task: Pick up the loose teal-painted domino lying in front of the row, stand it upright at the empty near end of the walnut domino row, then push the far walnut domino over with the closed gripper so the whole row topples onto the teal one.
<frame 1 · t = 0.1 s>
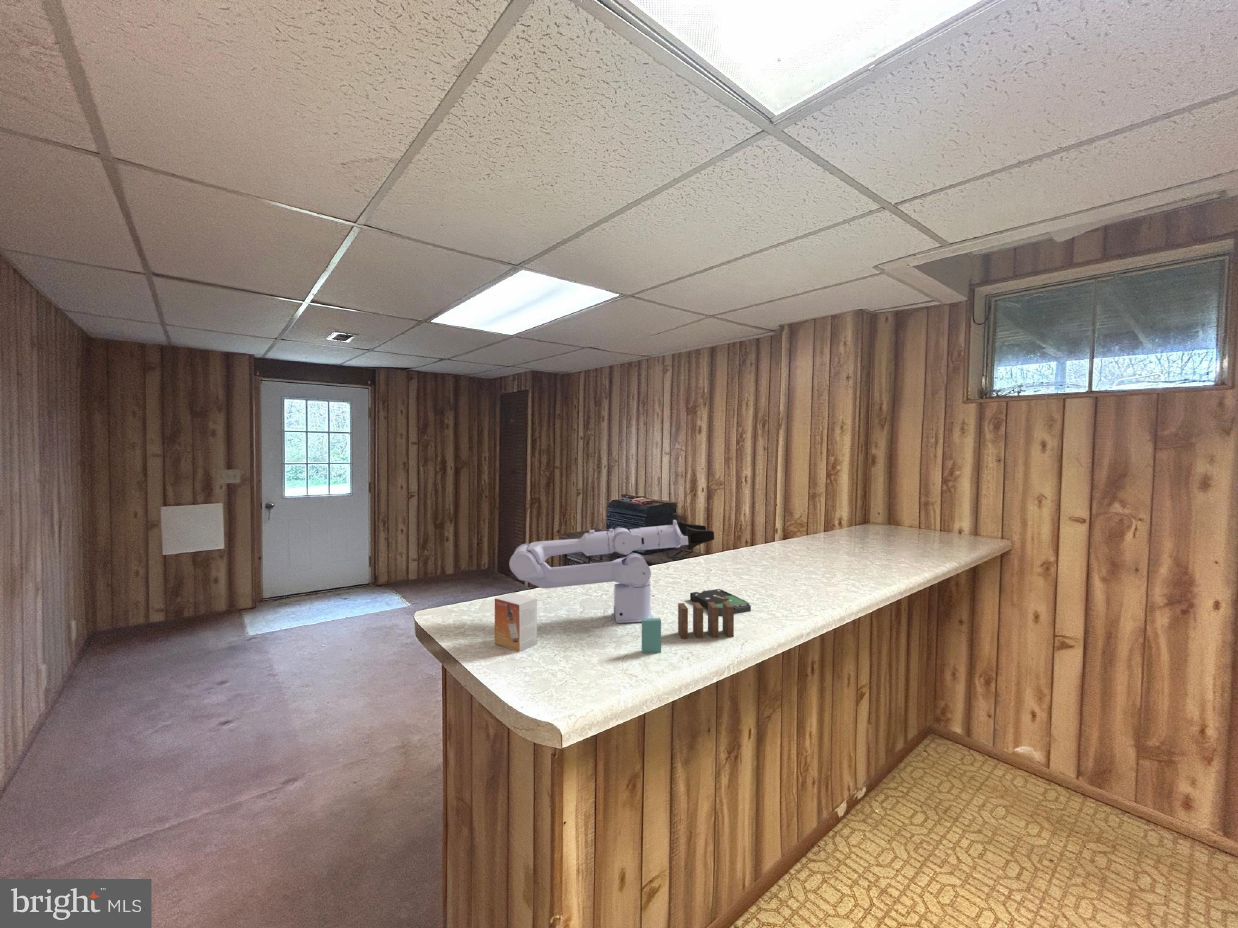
hand: (709, 532, 129), 22 cm above the table, tool horizontal, fingers open, 7 cm apart
disk drive: (719, 607, 137), on the table
domino 1: (728, 633, 117), on the table
domino 3: (698, 634, 116), on the table
teal domino: (651, 651, 107), on the table
small box: (516, 645, 111), on the table
domino 2: (713, 634, 117), on the table
domino 4: (682, 635, 116), on the table
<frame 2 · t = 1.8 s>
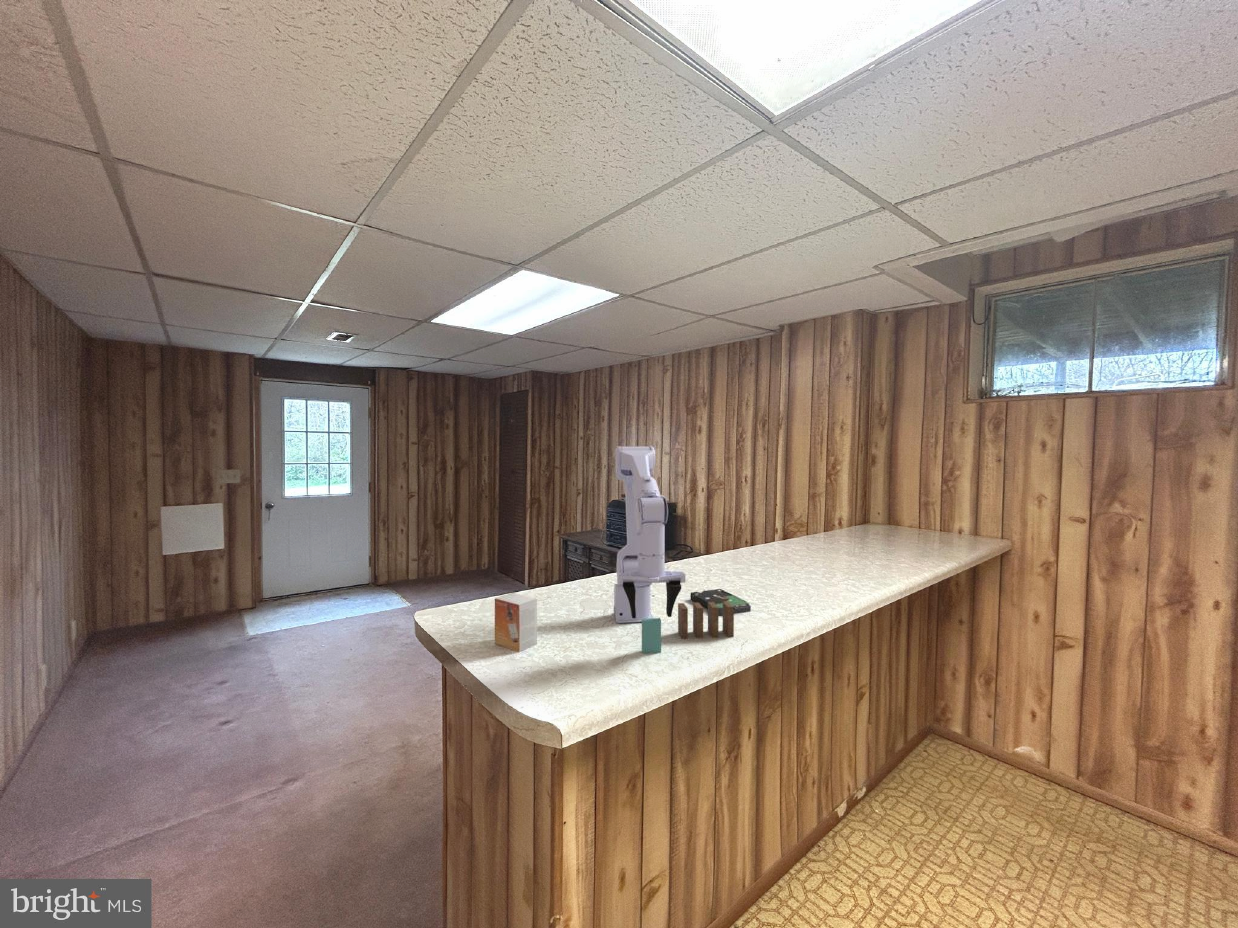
hand: (651, 616, 107), 8 cm above the table, tool pointing down, fingers open, 7 cm apart
nothing on the table moved.
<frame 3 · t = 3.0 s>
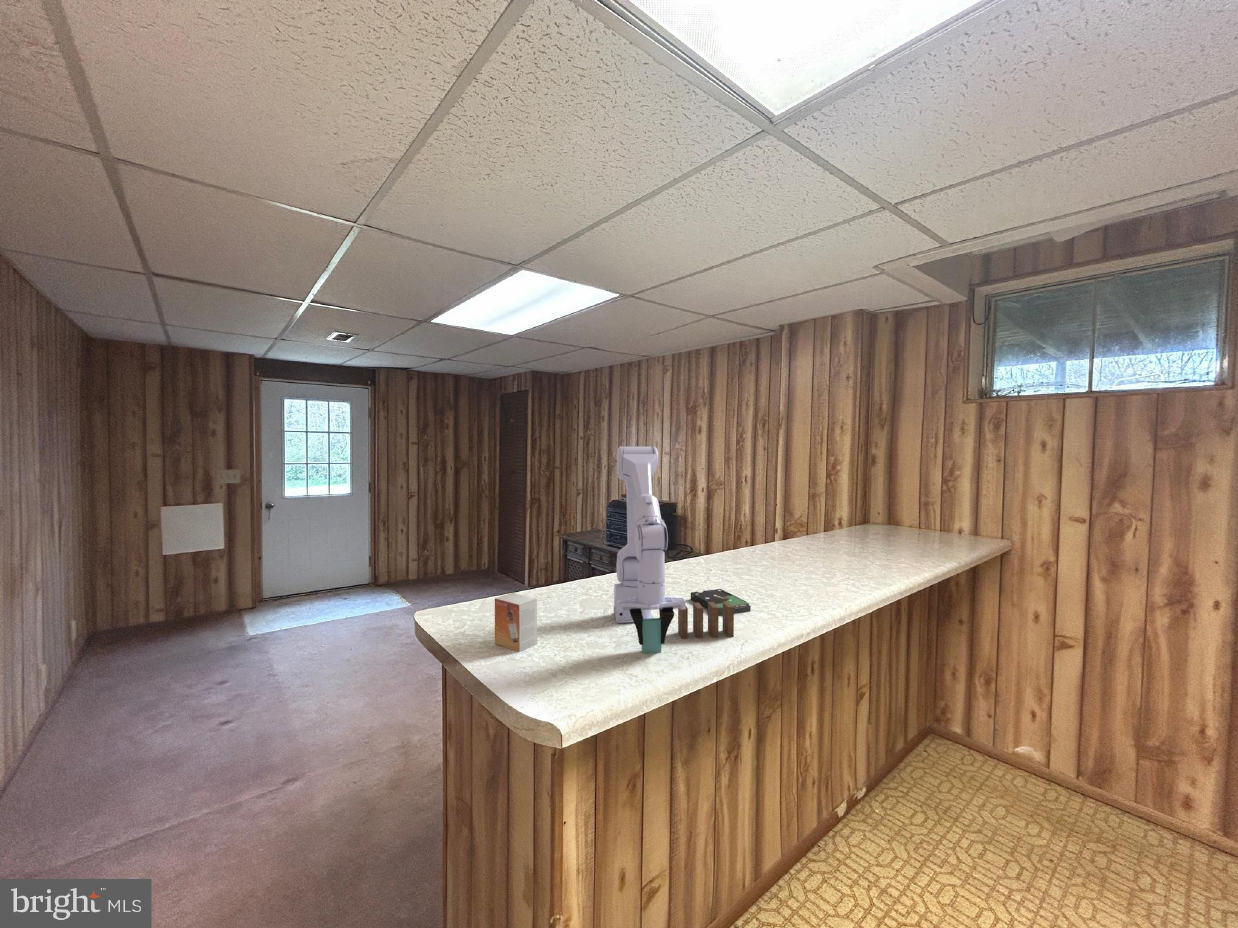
hand: (651, 642, 107), 2 cm above the table, tool pointing down, fingers closed on teal domino, 4 cm apart
teal domino: (651, 651, 107), on the table, touching gripper
everything else where it was.
when the fingers open (3 cm above the table, at t = 7.0 s): teal domino drops 1 cm, on the table.
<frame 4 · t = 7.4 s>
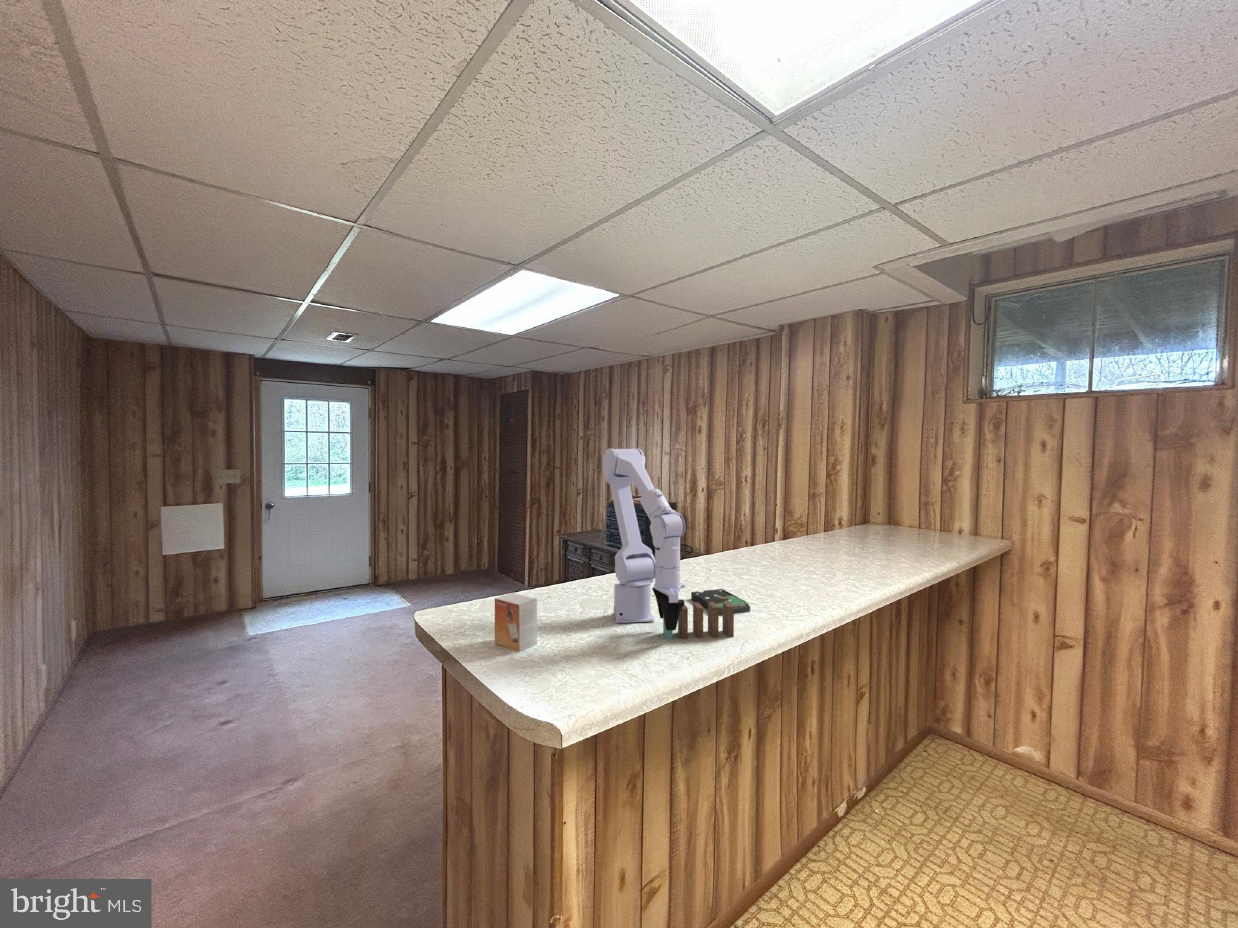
hand: (667, 623, 115), 3 cm above the table, tool pointing down, fingers open, 7 cm apart
teal domino: (667, 636, 116), on the table
everything else where it was.
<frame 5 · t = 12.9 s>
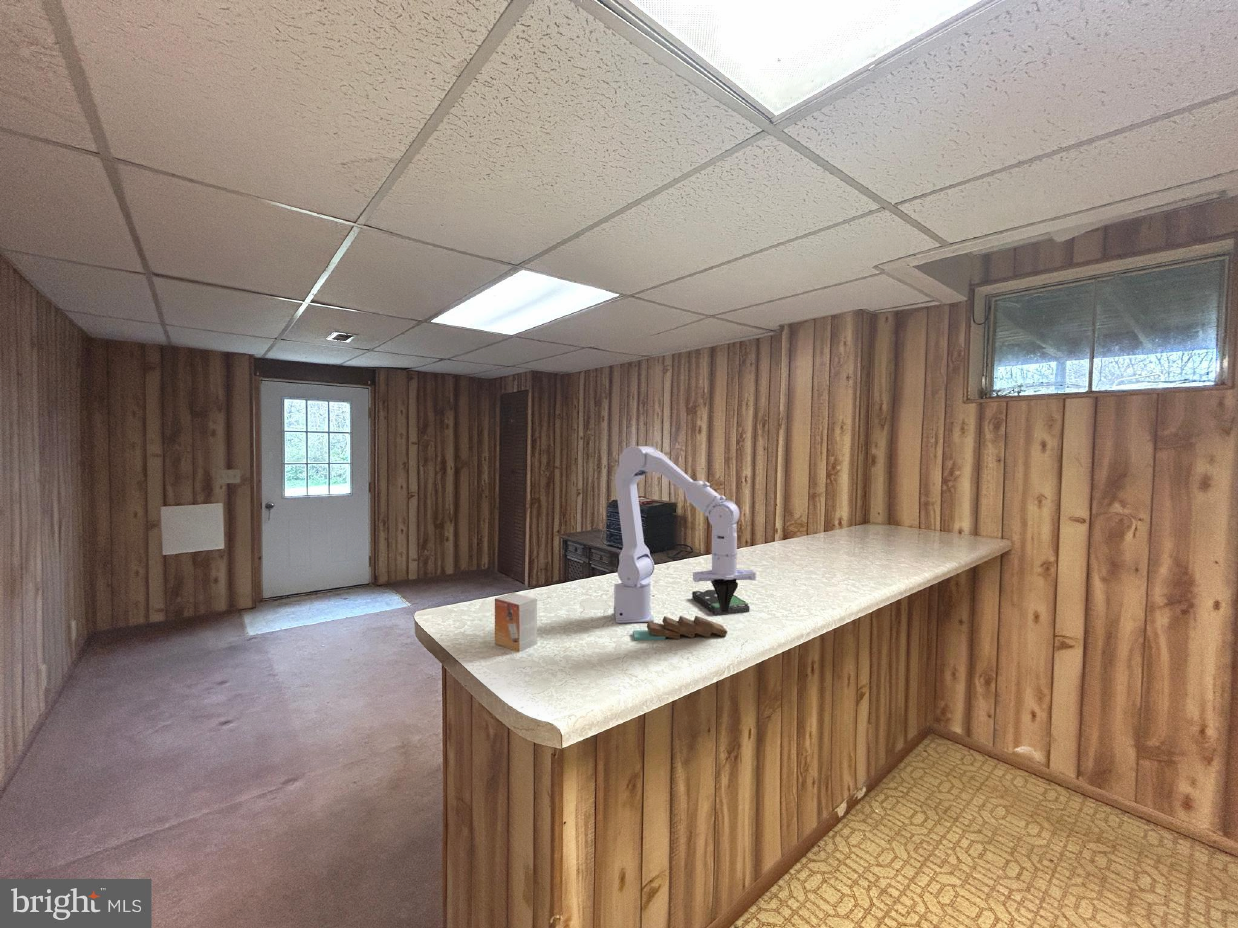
hand: (723, 610, 117), 5 cm above the table, tool pointing down, fingers closed
domino 1: (723, 630, 117), point 1 cm above the table, tilted 68°, touching domino 2
domino 3: (691, 632, 116), point 1 cm above the table, tilted 66°, touching domino 2, domino 4
teal domino: (663, 635, 115), on the table, tilted 90°, touching domino 4
domino 2: (707, 631, 116), point 1 cm above the table, tilted 67°, touching domino 1, domino 3
domino 4: (677, 632, 116), point 1 cm above the table, tilted 76°, touching domino 3, teal domino
everything else where it was.
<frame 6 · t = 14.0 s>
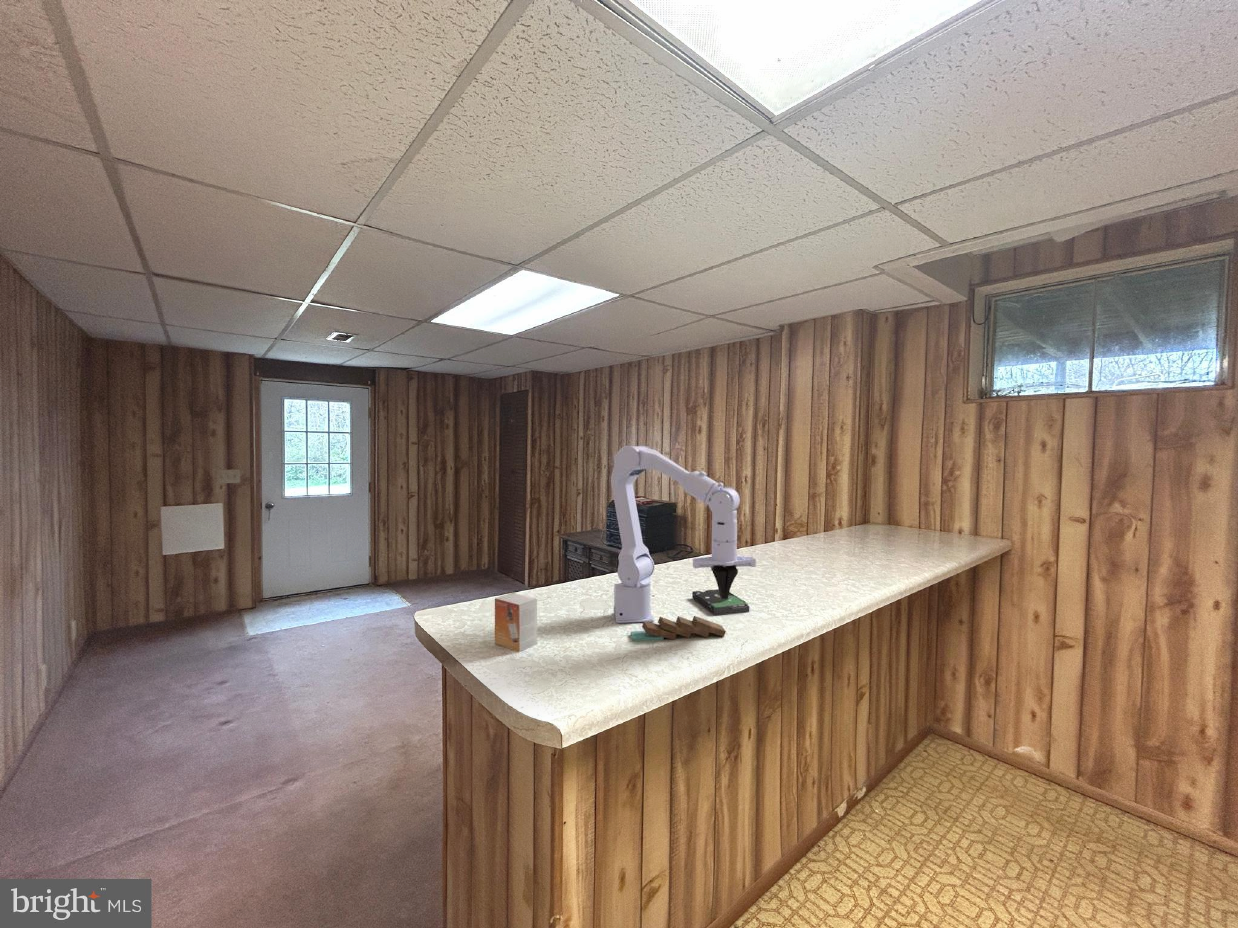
hand: (723, 597, 116), 9 cm above the table, tool pointing down, fingers closed
domino 3: (687, 632, 116), point 1 cm above the table, tilted 67°, touching domino 2, domino 4
domino 4: (672, 633, 115), point 1 cm above the table, tilted 73°, touching domino 3, teal domino
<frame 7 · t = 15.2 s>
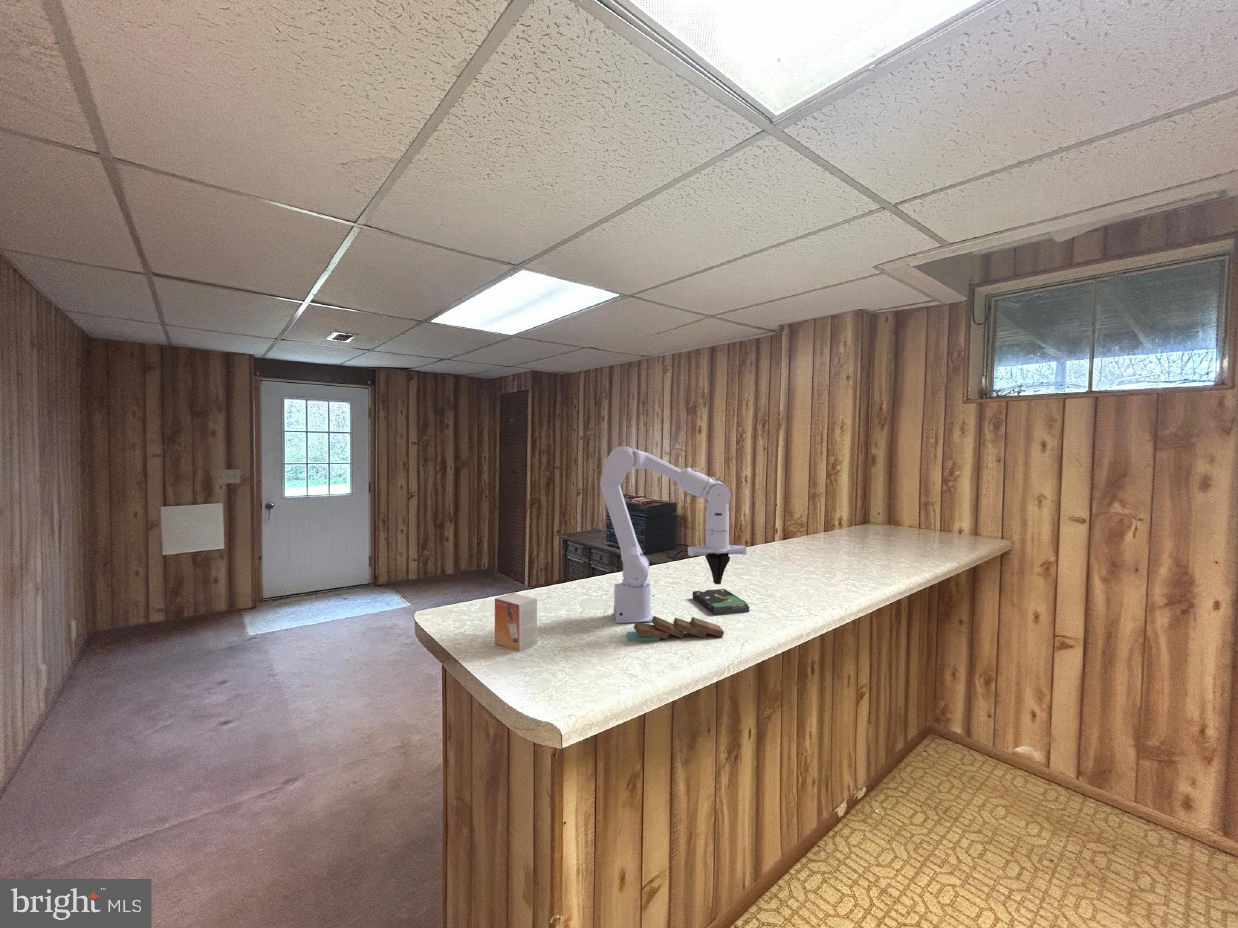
hand: (717, 583, 125), 9 cm above the table, tool pointing down, fingers closed
domino 3: (680, 632, 116), point 1 cm above the table, tilted 64°, touching domino 2, domino 4
domino 4: (664, 632, 115), point 1 cm above the table, tilted 76°, touching domino 3, teal domino
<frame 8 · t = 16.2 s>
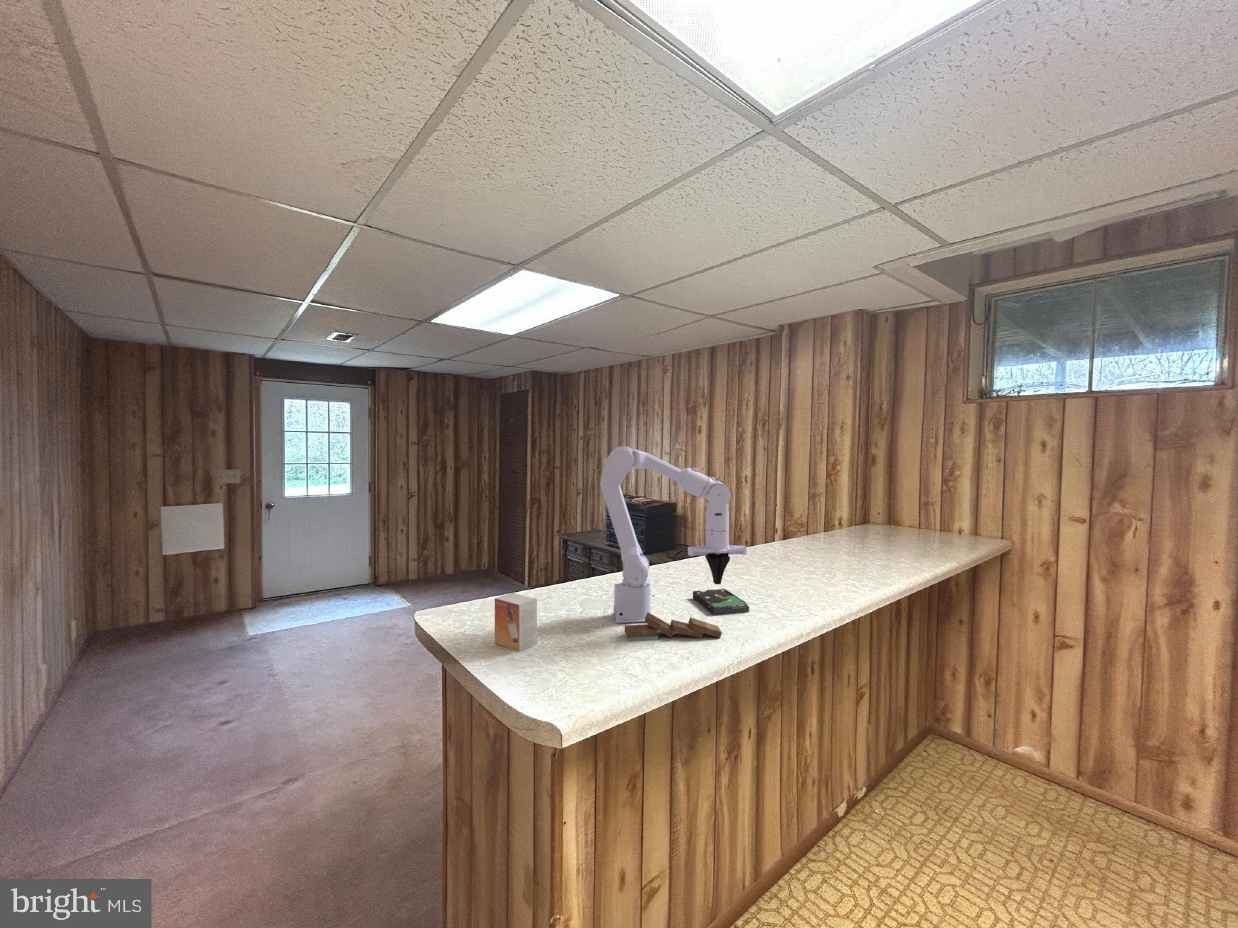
hand: (717, 583, 125), 9 cm above the table, tool pointing down, fingers closed
domino 1: (718, 631, 116), point 1 cm above the table, tilted 71°
domino 3: (672, 631, 116), point 1 cm above the table, tilted 61°, touching domino 2, domino 4
domino 2: (701, 632, 116), point 1 cm above the table, tilted 75°, touching domino 3
domino 4: (655, 629, 116), point 1 cm above the table, tilted 90°, touching domino 3, teal domino
at the end: teal domino tilted 90°; teal domino inside the target area (2.2 cm from its centre), on the table; domino 1 tilted 71° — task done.
